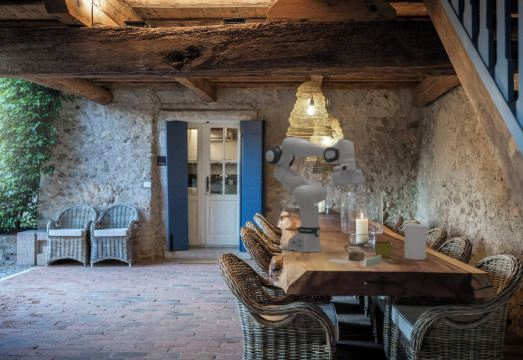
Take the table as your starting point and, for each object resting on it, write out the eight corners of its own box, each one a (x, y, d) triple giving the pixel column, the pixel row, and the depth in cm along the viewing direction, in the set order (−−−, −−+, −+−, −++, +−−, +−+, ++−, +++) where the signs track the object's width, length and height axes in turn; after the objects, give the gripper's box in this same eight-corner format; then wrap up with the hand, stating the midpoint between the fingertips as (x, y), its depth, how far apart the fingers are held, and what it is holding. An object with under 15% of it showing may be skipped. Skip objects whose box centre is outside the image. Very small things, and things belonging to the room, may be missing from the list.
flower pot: (391, 261, 245) (392, 244, 245) (374, 260, 247) (375, 243, 247) (390, 258, 254) (391, 241, 254) (374, 257, 256) (374, 241, 255)
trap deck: (326, 263, 235) (326, 255, 235) (341, 258, 250) (341, 250, 249) (368, 269, 223) (368, 260, 223) (381, 263, 237) (381, 255, 237)
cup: (426, 260, 248) (426, 226, 247) (404, 259, 251) (405, 225, 251) (425, 257, 258) (425, 224, 258) (404, 256, 261) (404, 223, 261)
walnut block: (348, 260, 238) (348, 252, 238) (353, 258, 242) (353, 251, 242) (359, 261, 234) (359, 253, 234) (364, 260, 239) (364, 252, 239)
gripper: (356, 168, 267) (358, 192, 266) (330, 168, 255) (332, 193, 254) (365, 167, 261) (366, 191, 261) (338, 167, 250) (340, 192, 249)
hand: (349, 192), depth 257 cm, fingers open, 8 cm apart
